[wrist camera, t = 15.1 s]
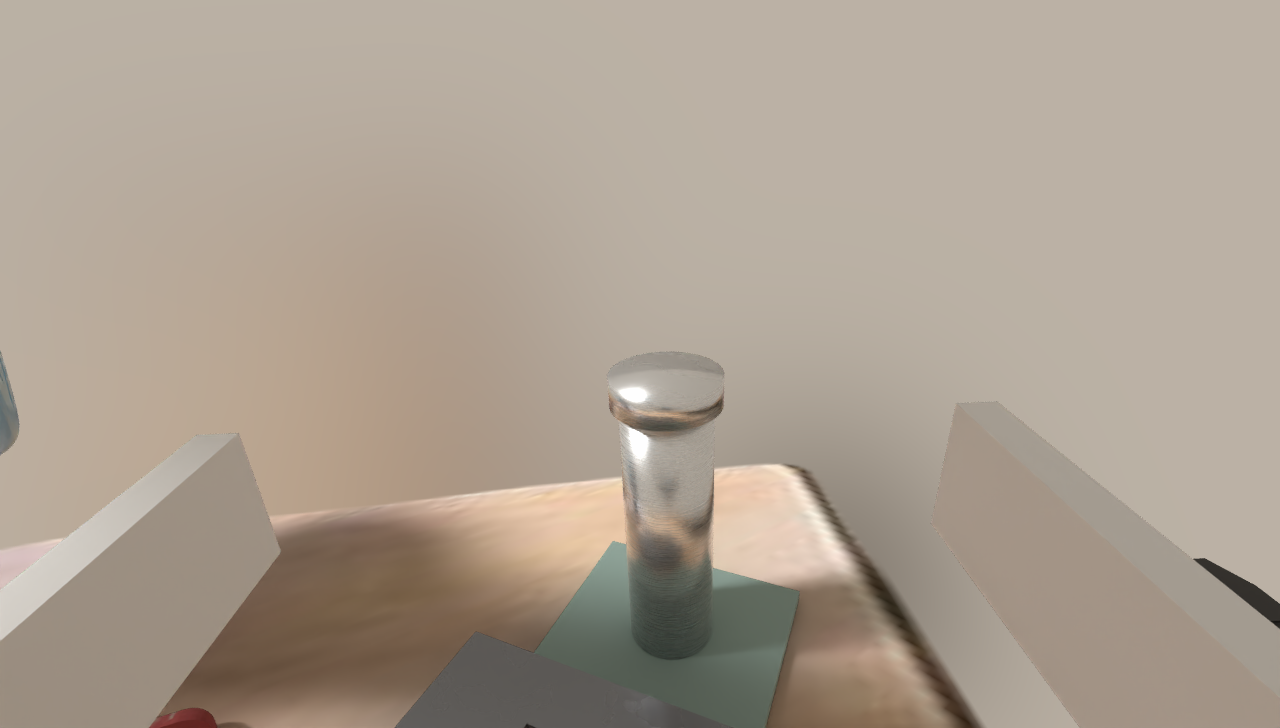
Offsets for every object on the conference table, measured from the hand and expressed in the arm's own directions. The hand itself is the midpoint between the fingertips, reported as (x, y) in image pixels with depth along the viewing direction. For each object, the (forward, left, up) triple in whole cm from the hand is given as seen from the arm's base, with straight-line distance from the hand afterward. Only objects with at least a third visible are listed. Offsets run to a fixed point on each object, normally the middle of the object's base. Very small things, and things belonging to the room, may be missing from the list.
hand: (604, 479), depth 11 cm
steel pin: (-4, +14, -19) cm, 24 cm away
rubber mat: (-5, +14, -20) cm, 25 cm away
